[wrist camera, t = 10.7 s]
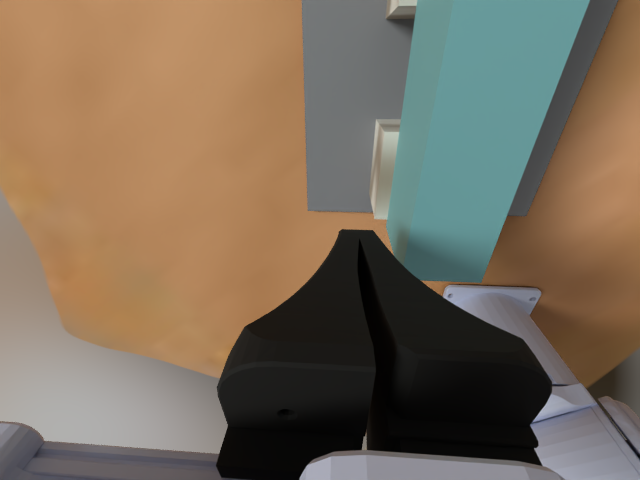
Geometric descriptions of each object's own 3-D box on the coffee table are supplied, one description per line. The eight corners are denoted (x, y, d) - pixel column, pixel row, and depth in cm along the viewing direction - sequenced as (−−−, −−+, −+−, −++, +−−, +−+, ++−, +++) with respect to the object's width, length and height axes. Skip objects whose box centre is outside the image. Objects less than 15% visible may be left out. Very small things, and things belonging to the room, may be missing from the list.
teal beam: (446, 228, 17) (481, 282, 13) (386, 226, 17) (400, 279, 13) (567, -226, 9) (784, -507, 4) (447, -219, 9) (545, -481, 5)
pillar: (439, 195, 20) (459, 221, 17) (369, 193, 20) (374, 218, 17) (457, 119, 18) (485, 132, 14) (376, 119, 18) (384, 131, 14)
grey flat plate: (521, 212, 21) (526, 216, 21) (308, 207, 22) (307, 210, 21) (684, -182, 12) (700, -194, 11) (298, -163, 13) (296, -173, 12)
